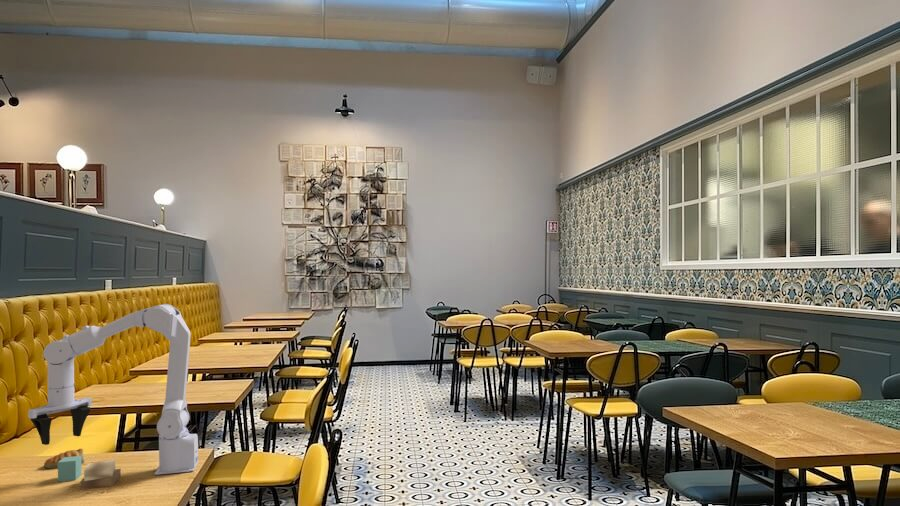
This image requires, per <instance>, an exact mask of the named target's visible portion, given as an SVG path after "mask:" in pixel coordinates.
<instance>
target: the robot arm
mask: <svg viewBox="0 0 900 506" xmlns="http://www.w3.org/2000/svg"><path fill="white" fill-rule="evenodd" d="M181 313H182V312H181V311H180V310H178V309H177V308H176V307H175V306H173V305H171V304H169V303H162V304H158V305H154V306H151V307H147V308H143V309H139V310H137V311H132V312H130V313H128V314H127V315H125V316H121V317H120V318H118V319H115V320H114V321H112V322H109V323H107V324H105V325H103V326H96V325H91V326H89V325H84V326H82V327H81V330H79V331H77V332H74V333H71V334H65V335H63V336H62V339H59V340H54V341H53V340H52V341H51V342H50V343H48V344H47V345H46V346H45V348H44V350H43V352H42V353H43V354H42V355H43V358H44V359H45V361H46V362H47V372H46V373H47V404H46V405H42V406H40V407H36V408H32V409H28V411H27V418H28V419H30V421H31V423H32V424H33V425H34V427H35V429H36V431H37V432H38V436H39V438H40V441H41V444H42V445H45V446H48V445H50V441H51V435H50V434H51V433H50V431H51V425H52V420H53V418H52V417H49V415H51V414H57V413H61V412H66V411H70V414H71V419H72V435H73V436H74V437H81V436H82V430H83V427H84V425H85V421H86V419H87V417H88V415H89V414H90V413H91V407H90V406H93V398H91V397H83V398H79V399H76V398H75V358H76V356H77V357H79V356H81V355H83V354H85V353H87V352H90V351H92V350H95V349H97V348H100V347H101V346H103V345H104V344H105V341H106V340H107V338H109V337H112V336H114V335H116V334H119V333H121V332H124V331H126V330H129V329H130V328H133V327H137V328H139V327H140V328H145V327H147V328H149V329H150V330H153V331H154V332H157V333H160V334H161V335H162V336H164V337H165V339H167V340H168V341H169V353H168V362H167V363H168V364H167V373H166V374H167V375H166V386H165V387H166V388H165V397H164V404H163V407H162V410H161V416H160V418H159V420H158V421H157V423H156V431H157V433H158V461H159V462H158V468H157V470H156V471H155V472H154V475H155V476H158V475H168V474H169V475H170V474H177V473H189V472H194V471H195V469H196V467H197V466H198V464H199V461H200V460H199V435H198V433H190V431H189V429H188V428H187V425H188V424H189V421H190V420H191V418H190V417H191V416H190V413H189V411H188V401H187V398H186V397H187V396H186V395H187V385H188V383H187V382H188V373H189V361H190V348H191V336H192V335H191V334H192V333H191V331H190V328H189V327H188V325H187V323H186V322H185V320H184V318H183V316H182V314H181Z"/></svg>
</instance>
